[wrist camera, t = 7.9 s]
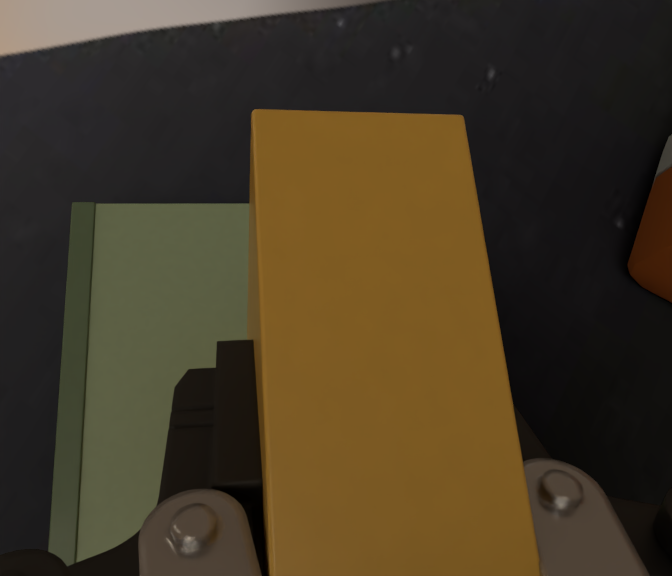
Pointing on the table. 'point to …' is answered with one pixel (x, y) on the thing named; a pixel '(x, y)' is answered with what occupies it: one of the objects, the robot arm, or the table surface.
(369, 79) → the table surface
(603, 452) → the table surface
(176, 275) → the sage book
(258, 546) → the robot arm
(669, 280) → the alarm clock
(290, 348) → the mustard book
